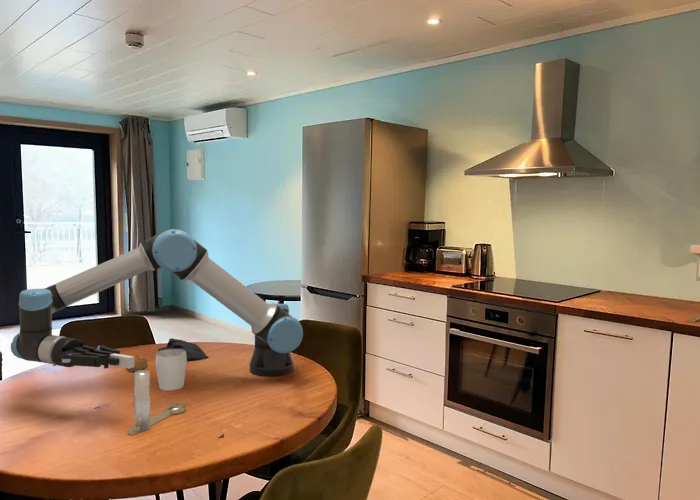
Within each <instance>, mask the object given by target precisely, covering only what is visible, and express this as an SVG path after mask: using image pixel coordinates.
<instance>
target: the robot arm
mask: <svg viewBox="0 0 700 500" xmlns="http://www.w3.org/2000/svg"><path fill="white" fill-rule="evenodd" d="M161 268H162V269H163V270H166V271H169V272H170V273H171V274H172V275H174V276H175V277H176V278H178V279H179V280H181V281H182V282H184V281H185V282H186V281H191V282H192V283H193V284H194V285H196V286H198V287H199V288H200V289H202V290H203V291H204V292H205V293H207V294H208V295H209V296H210V297H212V298H214V299H215V300H216V301H217V302H219V304H221V305H223V306H224V307H225V308H226V309H228V310H230V311H231V312H232V313H233V314H235V315H236V316H237V317H239V318H240V319H241V320H243V321H244V322H245V323H247V324H248V325H250V327H251V333H252V334H253V335H254V349H253V352H252V355H251V358H250V362H249V369H248V370H249V372H250V373H251V374H254V375H256V376H257V375H258V376H265V377H269V376H270V377H275V376H276V377H277V376H283V375H286V374H289V373H291V372H292V371H294V361H293V357H292V355H291V352H293V351H295V350H296V349H297V348H298V347H299V346H300V345H301V342H302V340H303V336H304V331H303V330H304V329H303V326H302V324H301V323H300V320H299V319H297V318H296V317H293V316H292V315H291V314H290V313H289V312H290V309H289V307H290V306H289V305H288V304H287V303H286V304H285V303H276V302H275V303H267V302H266V301H265V300H264V299H262V298H261V297H260V296H259V295H257V294H256V293H255V292H253V291H252V290H251V289H249V288H248V287H247V286H246V285H244V284H243V283H242V282H241V281H240V280H238V279H237V278H236V277H234V276H233V275H232V274H230V273H229V272H227V270H225V269H224V268H222V267H221V266H220V265H219V264H217V262H215V261H213V260H212V259H211V258H210V257H209V251H208V250H207V248H205V247H204V246H203V245H201V244H200V243H199V242H198V241H197V240H195V239H193V237H192V236H191V234H189V233H187V232H186V231H184V230H181V229H177V228H166V229H163V230H161V231H160V232H158V233H157V234H155V235H153V236H152V237H150V238H148V239H146V240H144V241H142V242H140V243H139V245H138V247H136V248H134V249H132V250H130V251H127V252H125V253H123V254H121V255H117V256H116V257H114V258H112V259H109V260H106V261H104V262H102V263H99V264H98V265H95V266H92V267H91V268H88V269H86V270H83V271H80V272H79V273H77V274H74V275H72V276H71V277H68V278H66V279H64V280H61V281H59V282H56V283H55V284H52V285H50V286H47V287H45V288H31V289H30V288H29V289H24V290H22V291H21V292H20V293H19V301H18V306H19V307H18V308H19V309H18V310H19V313H18V314H19V332H18V333H17V334H16V335H15V336H14V337H13V338H12V342H11V343H10V351H11V353H12V355H13V356H14V357H16V358H18V359H22V360H25V361H28V362H36V363H44V364H48V365H52V366H53V367H56V366H59V367H65V368H72V367H76V366H77V367H91V368H100V367H101V366H103V369H109V366H110V367H111V366H112V367H117V368H123V369H124V368H125V369H127V368H129V369H130V368H133V367H134V356H135V355H134V356H133V355H127V354H121V351H120V350H119V349H114V348H111V347H108V346H105V345H104V344H99V345H98V346H97V347H95V346H90V345H87V344H84V343H83V342H82V341H81V340H80V339H78V338H74V337H66V336H62V335H55V334H53V322H52V321H53V314H54V313H56V312H58V311H60V310H63V309H64V308H65V309H66V307H68V306H71V305H73V304H75V303H79V302H80V301H82V300H85V299H87V298H88V297H92V296H93V295H96V294H98V293H100V292H103V291H104V290H106V289H110V288H111V287H113V286H115V285H117V284H120V283H122V282H125V281H127V280H129V279H131V278H133V277H135V276H138V275H140V274H143V273H144V272H147V271H157V270H158V269H161Z"/></svg>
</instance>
